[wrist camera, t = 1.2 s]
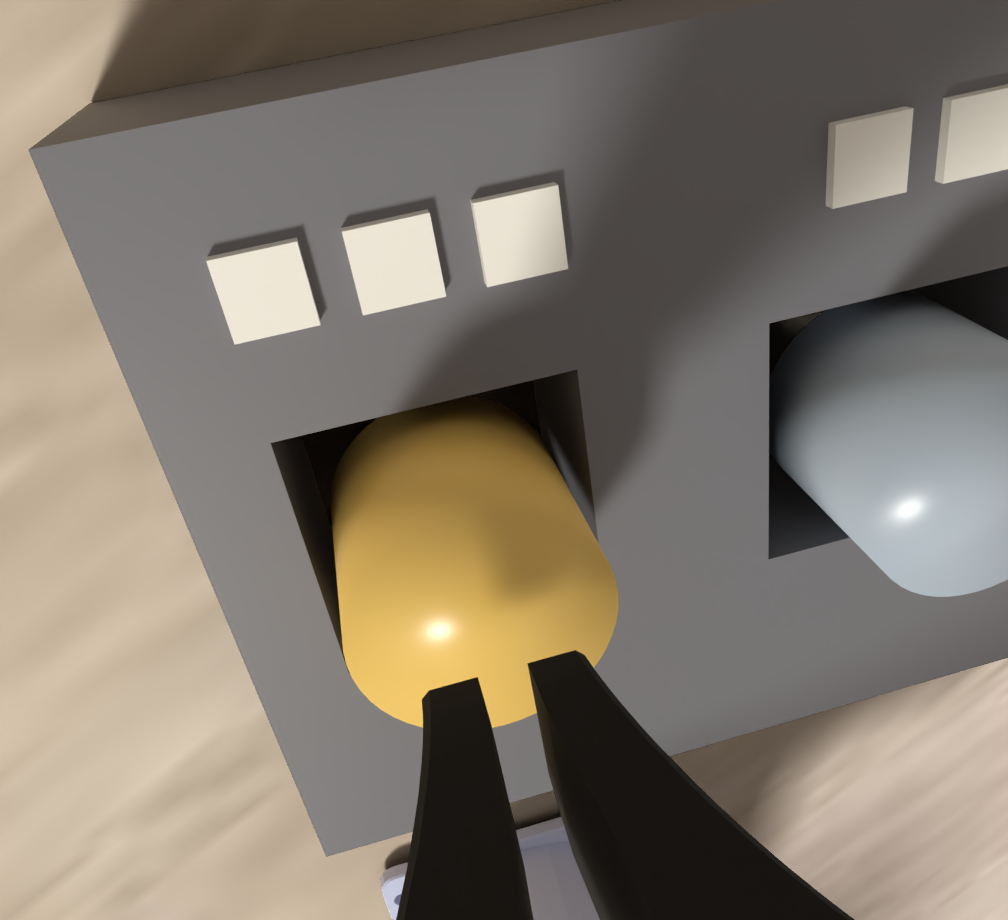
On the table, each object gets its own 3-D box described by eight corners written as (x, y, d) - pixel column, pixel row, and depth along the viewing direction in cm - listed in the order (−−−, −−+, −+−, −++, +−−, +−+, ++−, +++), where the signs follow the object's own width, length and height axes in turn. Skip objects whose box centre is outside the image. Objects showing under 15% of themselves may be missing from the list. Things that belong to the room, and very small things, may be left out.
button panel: (1195, 472, 24) (1356, 563, 20) (319, 713, 21) (326, 865, 18) (1383, -148, 17) (1684, -178, 13) (90, 103, 14) (24, 152, 10)
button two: (947, 457, 18) (1085, 560, 15) (761, 505, 17) (863, 623, 14) (971, 266, 16) (1138, 342, 13) (761, 316, 15) (881, 407, 12)
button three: (566, 557, 17) (629, 689, 14) (360, 611, 16) (378, 760, 13) (538, 370, 15) (605, 477, 12) (302, 426, 14) (308, 552, 11)
